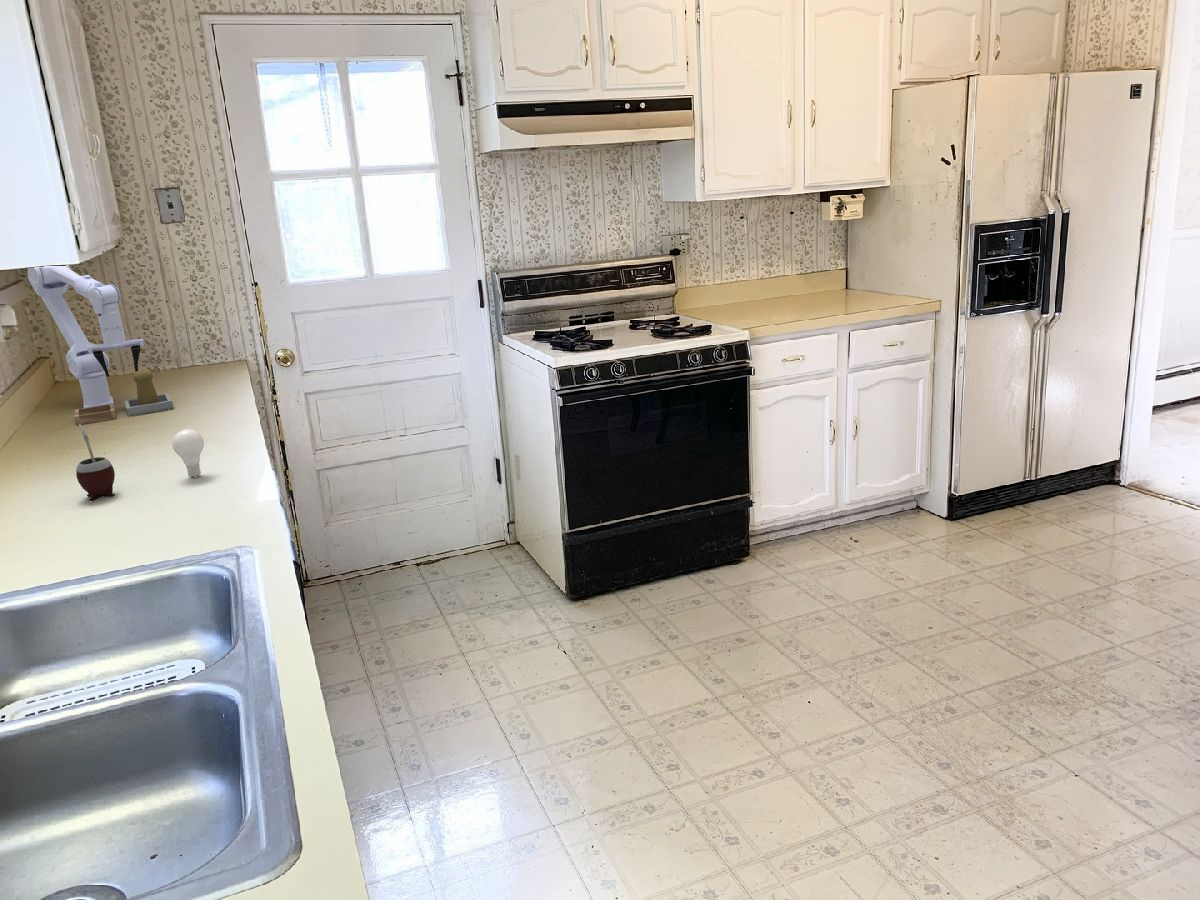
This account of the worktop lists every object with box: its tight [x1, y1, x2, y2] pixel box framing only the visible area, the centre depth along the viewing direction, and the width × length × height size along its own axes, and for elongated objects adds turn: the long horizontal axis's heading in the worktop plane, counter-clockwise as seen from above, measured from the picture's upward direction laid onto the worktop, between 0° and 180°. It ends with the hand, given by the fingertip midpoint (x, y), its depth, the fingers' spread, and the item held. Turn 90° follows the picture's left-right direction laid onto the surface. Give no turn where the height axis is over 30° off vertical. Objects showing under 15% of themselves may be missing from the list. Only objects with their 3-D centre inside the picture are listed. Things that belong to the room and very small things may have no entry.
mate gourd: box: [75, 424, 116, 502], centre depth 192 cm, size 8×8×15 cm
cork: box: [132, 369, 159, 406], centre depth 265 cm, size 6×6×11 cm
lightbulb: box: [171, 428, 205, 478], centre depth 201 cm, size 6×6×11 cm
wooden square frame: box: [74, 403, 117, 426], centre depth 259 cm, size 10×10×2 cm
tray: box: [124, 392, 174, 417], centre depth 267 cm, size 12×12×2 cm
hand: (122, 373), depth 266 cm, fingers open, 7 cm apart
